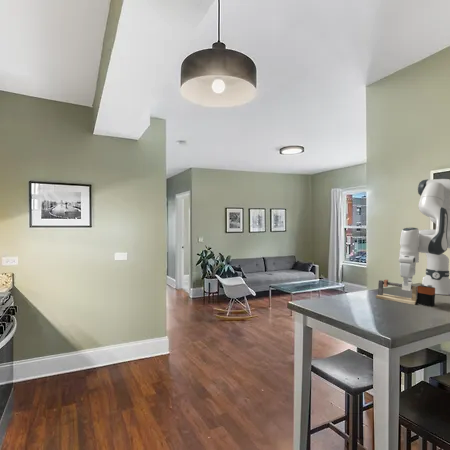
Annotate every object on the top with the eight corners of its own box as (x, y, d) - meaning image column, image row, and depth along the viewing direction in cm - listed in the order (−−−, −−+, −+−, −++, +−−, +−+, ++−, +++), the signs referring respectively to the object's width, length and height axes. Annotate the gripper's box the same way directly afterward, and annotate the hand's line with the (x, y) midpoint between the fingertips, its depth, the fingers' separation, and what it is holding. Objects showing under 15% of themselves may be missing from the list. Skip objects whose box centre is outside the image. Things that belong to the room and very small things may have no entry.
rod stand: (380, 295, 173) (381, 278, 173) (417, 301, 161) (418, 283, 162) (375, 297, 166) (376, 279, 166) (414, 304, 154) (415, 285, 154)
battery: (431, 306, 152) (432, 286, 152) (416, 303, 157) (417, 284, 157) (434, 305, 154) (435, 285, 154) (419, 302, 160) (420, 283, 160)
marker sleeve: (403, 288, 164) (403, 281, 164) (412, 290, 161) (412, 282, 161) (401, 289, 160) (402, 282, 160) (410, 291, 158) (410, 283, 158)
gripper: (405, 257, 170) (404, 282, 170) (398, 258, 155) (396, 285, 154) (419, 258, 166) (417, 283, 166) (412, 259, 151) (411, 287, 150)
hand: (407, 284), depth 160 cm, fingers open, 8 cm apart
